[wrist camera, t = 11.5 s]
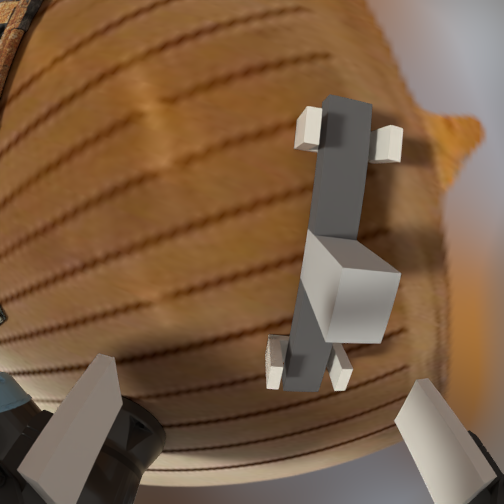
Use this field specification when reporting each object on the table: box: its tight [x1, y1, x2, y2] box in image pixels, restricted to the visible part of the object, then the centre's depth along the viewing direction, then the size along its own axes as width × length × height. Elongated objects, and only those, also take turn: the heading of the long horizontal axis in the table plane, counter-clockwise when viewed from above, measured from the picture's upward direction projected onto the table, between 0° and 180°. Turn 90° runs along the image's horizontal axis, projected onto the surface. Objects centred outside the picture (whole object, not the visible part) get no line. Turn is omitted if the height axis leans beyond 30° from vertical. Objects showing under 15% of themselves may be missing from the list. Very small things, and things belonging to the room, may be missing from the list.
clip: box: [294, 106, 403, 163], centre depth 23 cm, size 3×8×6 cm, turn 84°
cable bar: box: [282, 95, 401, 392], centre depth 22 cm, size 30×4×12 cm, turn 174°
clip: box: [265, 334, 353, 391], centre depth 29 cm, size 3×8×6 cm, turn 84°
